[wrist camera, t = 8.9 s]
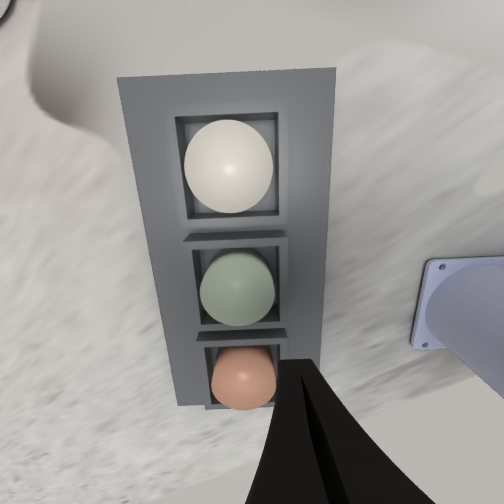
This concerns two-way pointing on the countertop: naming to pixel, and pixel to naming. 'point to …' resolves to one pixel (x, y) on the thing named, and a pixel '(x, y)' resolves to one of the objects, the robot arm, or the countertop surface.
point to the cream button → (228, 166)
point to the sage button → (237, 287)
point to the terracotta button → (244, 376)
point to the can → (4, 7)
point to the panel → (234, 224)
